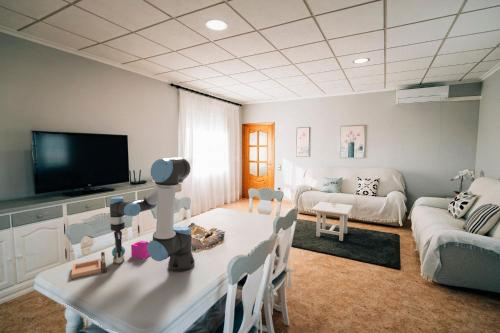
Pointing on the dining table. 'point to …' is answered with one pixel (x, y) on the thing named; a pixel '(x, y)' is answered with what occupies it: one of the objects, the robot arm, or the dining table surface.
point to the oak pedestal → (116, 260)
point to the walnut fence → (103, 262)
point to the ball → (116, 251)
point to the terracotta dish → (86, 268)
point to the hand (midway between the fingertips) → (118, 259)
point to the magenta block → (140, 249)
